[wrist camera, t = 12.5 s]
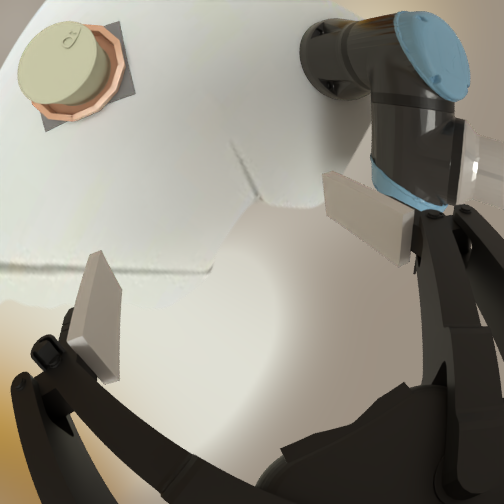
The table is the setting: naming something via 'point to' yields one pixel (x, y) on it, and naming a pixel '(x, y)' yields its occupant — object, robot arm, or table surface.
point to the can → (63, 66)
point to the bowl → (111, 88)
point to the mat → (125, 86)
